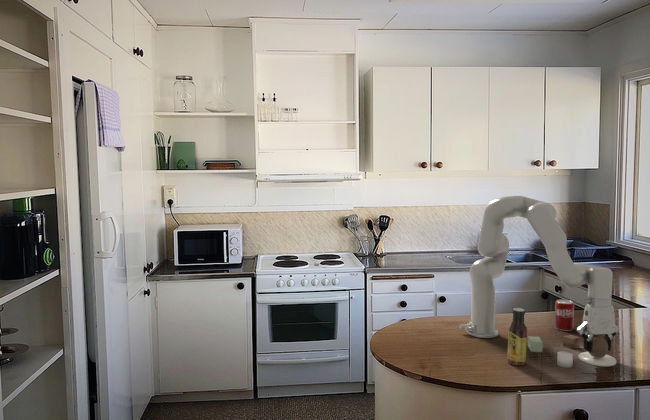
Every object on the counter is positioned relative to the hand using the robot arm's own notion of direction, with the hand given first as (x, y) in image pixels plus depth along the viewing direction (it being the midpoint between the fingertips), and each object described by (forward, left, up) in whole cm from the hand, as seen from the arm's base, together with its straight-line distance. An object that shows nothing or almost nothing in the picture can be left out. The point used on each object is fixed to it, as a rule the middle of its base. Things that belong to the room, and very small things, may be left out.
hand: (597, 349), depth 183 cm
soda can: (+9, +34, -4) cm, 35 cm away
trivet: (0, 0, -4) cm, 4 cm away
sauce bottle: (-30, +2, -4) cm, 30 cm away
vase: (0, 0, -3) cm, 3 cm away
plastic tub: (-14, -2, -4) cm, 15 cm away
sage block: (-16, +14, -4) cm, 21 cm away
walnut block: (-1, +14, -4) cm, 14 cm away
